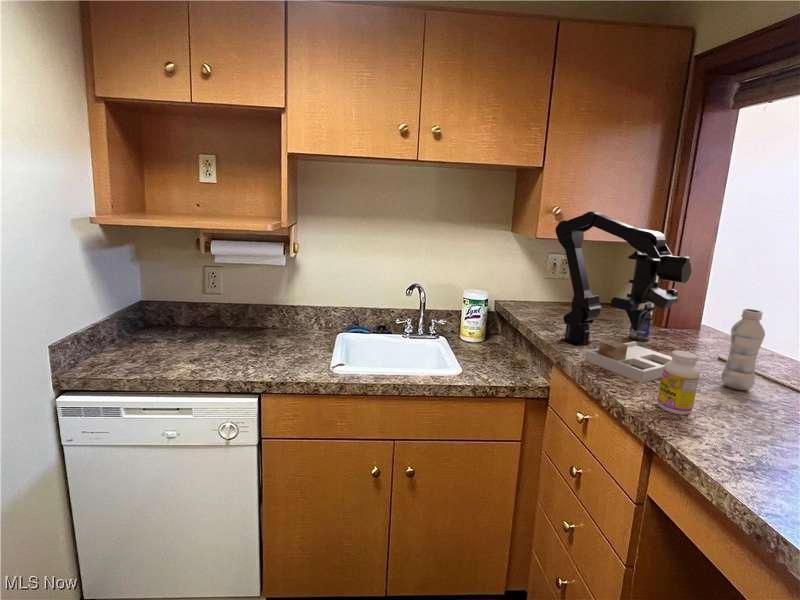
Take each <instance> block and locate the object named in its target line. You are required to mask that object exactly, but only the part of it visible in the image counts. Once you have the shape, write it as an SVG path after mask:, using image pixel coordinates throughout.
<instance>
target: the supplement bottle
mask: <svg viewBox="0 0 800 600" xmlns="http://www.w3.org/2000/svg"><path fill="white" fill-rule="evenodd" d="M671 357H672V361H669V362H667V363H666V364H665V366H664V370H663V375H662V378H661V381H660V387H659V391H658V396H657V401H656V402H657V403H656V404H657V406H658V407H660V409H662V410H664V411H666V412H668V413H669V414H670V413H671V414H674V415H681V416H683V415H689V414H691V413H692V412H693V407H694V404H695V398H696V395H697V390H698V384H699V379H700V375H701V372H700V370H699V368H698V366H696V364H697V363H698V355H697V354H695V353H693V352H691V351H686V350H685V351H684V350H678V349H677V350H672V352H671Z"/></svg>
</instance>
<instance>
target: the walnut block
mask: <svg viewBox="0 0 800 600" xmlns="http://www.w3.org/2000/svg"><path fill="white" fill-rule="evenodd" d="M627 347H628V345H626V344H623V342H619V341H616V340H614V339H608V340H603V341H600V342H599V347H598V348H599V353H598V354H600V355H603V356H606V357H609V358H611V359H614V360H617V361H618V360H622V359H626V353H627Z"/></svg>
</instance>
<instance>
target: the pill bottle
mask: <svg viewBox="0 0 800 600" xmlns="http://www.w3.org/2000/svg"><path fill="white" fill-rule="evenodd" d="M651 313H652V312H650V313H649V314H648V315H647V317H646V318H645V320H644V322H643V324H642V325H641V327H640V329H639V331H634V330H633V328H632V325H631V324H630V328H629V334H628V337H629V339H631V340H634V341H639V342H648V341H650V338H651V337H650V336H651V331H652V327H653V326H652V325H653V320H654V317H653V315H652V314H651Z"/></svg>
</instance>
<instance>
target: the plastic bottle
mask: <svg viewBox="0 0 800 600" xmlns="http://www.w3.org/2000/svg"><path fill="white" fill-rule="evenodd" d="M741 313H742V314H741V315H740V316H741V319H740V320H738V321H737V322H735V324H734V325H733V326H732V327H731V329H730V347H729V352H728V357H727V360H726V363H725V366H724V367H723V370H722V372H721V376H720V379H721V383H722V384H723V385H724V386H726V387H728V388H731V389H734V390H739V391H749V390H751V389H752V388H753V387H754V385H755V382H756V381H755V380H756V374H755V372H756V371H755V370H756V363H757V360H758V359H757V358H758V354H759V352H760V348H761V345H762V343H763V342H764V339H765V336H766V331H765V329H764V327H763V325H762V324H761V322H760V321H762V319H763V311H761V310H757V309H751V308H744V309H743V311H742V312H741Z"/></svg>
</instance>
